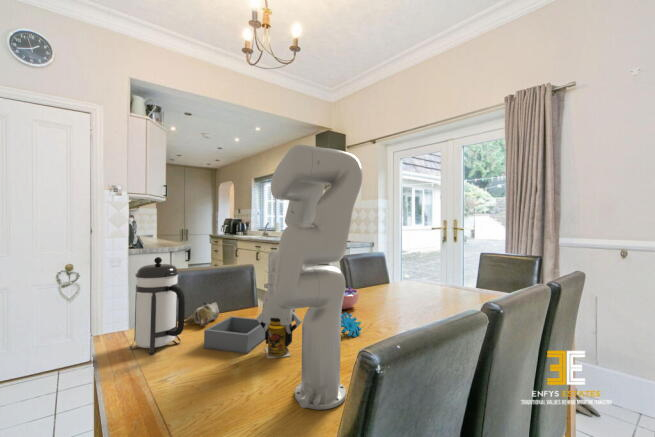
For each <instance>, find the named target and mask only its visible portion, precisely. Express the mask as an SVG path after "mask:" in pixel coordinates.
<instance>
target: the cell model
mask: <svg viewBox="0 0 655 437" xmlns="http://www.w3.org/2000/svg"><path fill="white" fill-rule="evenodd" d="M359 292H360V291H359V290H358V289H356V288H353V287H351V286H348V288H347V287H345V294H344V299H343V304H342V310H347V309H350V308H352V307H354V306H355V305H357V303H358V301H359V299H360V298H359V295H360V293H359Z"/></svg>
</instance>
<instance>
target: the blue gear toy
mask: <svg viewBox="0 0 655 437" xmlns="http://www.w3.org/2000/svg"><path fill="white" fill-rule="evenodd" d="M352 317H353V314H352V313H349V314H348V312H344V313H341V328H343V329H341V332H342V333H344V334H345V333H347V334H346V335H347V336H348V337H351V336H352V338H353V337H354V338H357V336H359V335H360V334H361V330H362V327H361V326H360V325H361V324H362V321H361V320H359V321H357V320H358V319H357V317H356V316H354V317H353V318H352ZM347 331H348V332H347Z"/></svg>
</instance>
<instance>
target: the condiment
mask: <svg viewBox="0 0 655 437" xmlns="http://www.w3.org/2000/svg"><path fill="white" fill-rule="evenodd" d="M270 320H271V322H270V324H269V326H268V344H267V347H265V348H264V350H265V353H266V357H267V359H276V358H277V359H278V358H284V357H290V356H291V353H290V351H289V346H285V337H286V333H287V330H286V327H285V326H281V324H280V319H279V318H271V319H270Z"/></svg>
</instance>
